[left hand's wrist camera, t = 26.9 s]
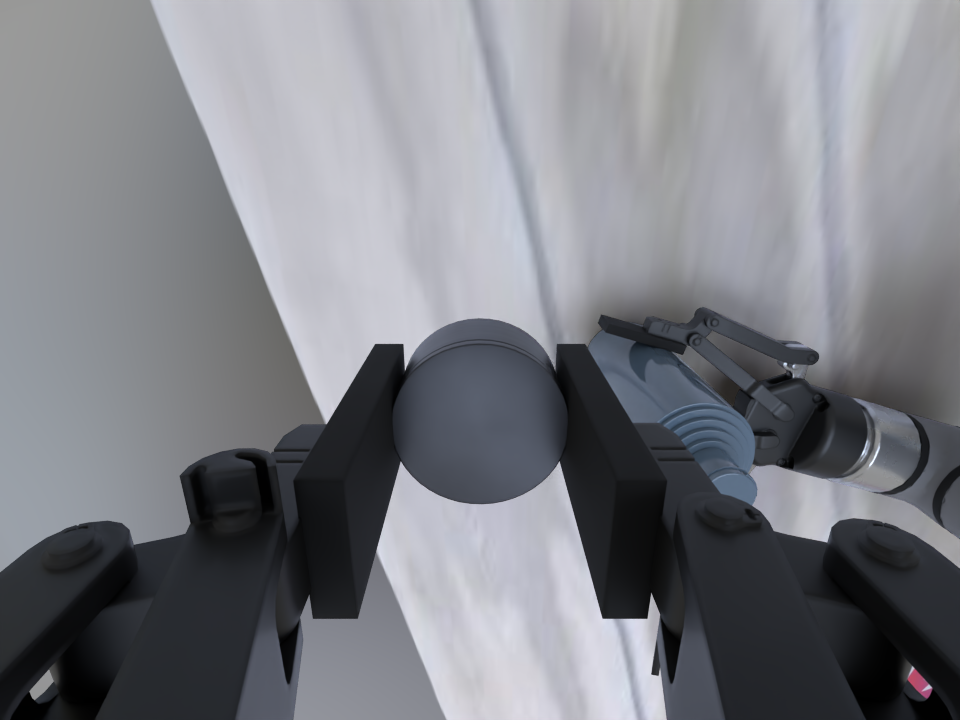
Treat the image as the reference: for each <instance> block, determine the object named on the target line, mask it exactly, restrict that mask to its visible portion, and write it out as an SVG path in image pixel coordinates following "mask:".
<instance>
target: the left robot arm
mask: <svg viewBox="0 0 960 720" xmlns="http://www.w3.org/2000/svg"><path fill="white" fill-rule="evenodd" d="M404 373H405V366H404V348H403V344H375V345H374V347H373V349H372V350H371V352H370V354H369V355H368V357H367V359H366V360H365V362H364V364H363V365H362V367H361V369H360V370H359V372H358V374H357V375H356V377H355V379H354V380H353V382H352V384H351V385H350V387H349V389H348V390H347V392H346V393H345V395H344V397H343V398H342V400H341V402H340V403H339V405H338V407H337V408H336V410H335V412H334V413H333V415H332V417H331V418H330V420H329V422H328V423H327V424H304V425H303V424H302V425H300V426H299V427H297V428H296V429H294V430H293V431H291V432H289V433H288V434H286V435H285V436H284V437H283V438H282V439H281V441H280V442H279V443H278V445H277V446H276V447H275V449H274V452H272V453H271V454H270V453H269V452H268V451H264V450H259V449H255V448H247V449H246V448H245V449H233V450H228V451H222V452H219V453H216V454H213V455H210V456H208V457H205V458H202V459H201V460H199V461H197V462H195V463H194V464H192V465H190V466H189V467H188V468H187V469H186V470H185V471H184V472H183V473H182V474H181V475H180V479H181V484H182V488H183V492H184V497H185V501H186V505H187V510H188V514H189V518H190V523H191V524H190V526H189V528H188V530H187V532H186V534H183V535H179V536H175V537H171V538H166V539H161V540H156V541H151V542H146V543H141V544H136V545H134V544H133V541H132V537H131V534H130V530H129V529H128V528H127V527H126V526H124V525H123V524H122V523H117V522H112V521H100V522H89V523H84V524H79V525H78V526H76V525H75V526H72V527H69V528H66V529H64V530H62V531H61V532H59V533H56V534H54V535H52V536H50V537H47V538H46V539H44V540H42V541H41V542H39V543H38V544H36V545H35V546H33V547H32V548H30V549H29V550H27V551H26V552H25V553H24V554H22V555H21V556H20V557H19V558H18V559H16V560H15V561H14V562H13V563H11V564H10V565H9V566H8V567H6V568H5V569H4V570H3V571H1V572H0V720H293V717H294V710H295V702H296V694H297V686H298V678H299V670H300V662H301V654H302V646H303V634H302V627H301V620H300V616H301V614H302V611H303V609H304V606H305V604H306V601H307V599H308V596H309V595H310V601H311V608H312V615H313V619H357V618H358V616H359V612H360V608H361V604H362V601H363V597H364V594H365V590H366V586H367V583H368V579H369V575H370V572H371V568H372V564H373V561H374V557H375V553H376V550H377V546H378V542H379V539H380V535H381V531H382V528H383V524H384V520H385V517H386V513H387V509H388V506H389V502H390V498H391V495H392V491H393V487H394V484H395V480H396V476H397V473H398V469H399V465H400V462H401V460H400V459H399V456H398V454H397V452H396V450H395V447H394V436H393V421H392V407H393V404H394V400H395V397H396V394H397V392H398V389H399V386H400V384H401V381H402V378H403V376H404ZM556 375H557V378H558V380H559V383H560V386H561V388H562V391H563V394H564V396H565V399H566V402H567V405H568V426H567V441H566V448H565V451H564V453H563V455H562V457H561V459H560V464H561V468H562V471H563V475H564V479H565V482H566V486H567V490H568V493H569V497H570V501H571V504H572V508H573V512H574V515H575V519H576V523H577V526H578V530H579V534H580V537H581V541H582V545H583V548H584V552H585V556H586V559H587V563H588V567H589V570H590V574H591V578H592V581H593V585H594V589H595V592H596V596H597V600H598V603H599V607H600V611H601V614H602V618H603V619H647V618H648V611H649V604H650V597H651V593H652V595H653V598H654V600H655V603H656V605H657V607H658V610H659V612H660V620H659V627H658V633H657V640H656V646H655V652H654V659H653V666H652V673H651V675H657V676H659V670H660V669H661V677H662V685H663V693H664V701H665V708H666V716H667V720H960V568H958V567H957V566H956V565H955V564H953V563H952V562H951V561H950V560H948V559H947V558H946V557H945V556H943V555H942V554H941V553H940V552H938V551H937V550H936V549H935V548H933V547H932V546H930V545H929V544H927V543H926V542H924V541H923V540H921V539H920V538H918V537H917V536H915V535H913V534H911V533H908V532H906V531H904V530H901V529H899V528H898V527H896V526H894V525H890V524H887V523H885V524H884V523H882V522H880V521H875V520H865V519H855V518H853V519H847V520H841V521H839V522H837V523H836V524H835V525H834V526H833V527H832V528H831V532H830V535H829V539H828V542H827V543H826V542H821V541H816V540H811V539H806V538H801V537H796V536H791V535H787V534H783V533H779V532H775V531H773V529H772V527H771V525H770V523H769V521H768V520H767V519H766V518H765V516H764V515H763V514H762V513H761V512H760V511H759V510H757V509H756V508H754V507H753V506H751V505H750V504H748V503H747V502H744V501H742V500H740V499H737V498H735V497H732V496H729V495H724V494H721V493H720V492H719V490H718V489H717V488H716V486H715V485H714V484H713V482H712V481H711V480H710V478H709V477H708V476H707V474H706V473H705V471H704V470H703V469H702V467H701V466H700V465H699V463H698V462H697V461H695V458H694V457H693V455H692V454H691V453H690V451H689V450H687V449H686V448H687V447H686V446H685V445H684V443H683V442H682V441H681V439H680V438H679V437H678V435H677V434H676V433H674V432H673V431H671V430H669V429H668V428H666V427H665V426H663V425H661V424H660V423H632V421H631V419H630V418H629V416H628V414H627V413H626V411H625V409H624V408H623V406H622V404H621V403H620V401H619V399H618V398H617V396H616V395H615V393H614V391H613V390H612V388H611V386H610V385H609V383H608V381H607V380H606V378H605V376H604V375H603V373H602V371H601V370H600V368H599V366H598V365H597V363H596V361H595V360H594V358H593V356H592V355H591V353H590V351H589V350H588V348H587V346H586V345H585V344H557V354H556ZM912 666H913V667H914V668H915V670H916V671H917V672H918V673H919V674H920V675H921V676H922V677H923V678H924V679H925V681H926V682H927V683H928V684H929V685H930V686H931V687H932V688H933V689H932V691H931V693H930V696H929V697H928V698H925V697H924V696H923V695H922V694H921V693H919V692H918V691H917V690H916V689H915V688H914V686H913V685H912V684H911V683H910V682H909V681H908V676H909V674H910V671H911V669H912ZM48 670H50V673H51V675H52V678H53V680H54V682H53V683H52V684H51V685H50V687H49V688H48V689H47V690H46V691H45V692H44V693H43V694H42V695H41V696H39V697H38V698H37V699H36V700H34V699H32V697H31V695H30V692H29V691H30V690H31V688H32V687H33V686H34V685H35V684H36V683H37V682H38V681H39V680H40V678H41V677H42V676H43V675H44V674H45V673H46V672H47V671H48Z"/></svg>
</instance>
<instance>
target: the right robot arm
mask: <svg viewBox="0 0 960 720" xmlns="http://www.w3.org/2000/svg"><path fill="white" fill-rule="evenodd" d="M598 324H599V325H600V326H601V328H602V329H603V330H604V331H605V333H608V334H612V335H615V336H619V337H622V338H626V339H629V340H633V341H636V342H640V343H643V344H647V345H650V346H654V347H657V348H661V349H665V350H668V351H671V352H675V353H678V354H682V355H683V353H684V351H685V349H686V347H687V346H686V345H688V346H690V347H692V348H693V349H694V350H695V351H697V352H698V353H699V354H700V355H702V356H703V357H704V358H705V359H706V360H708V361H709V362H710V363H711V364H713V365H714V366H715V367H716V368H717V369H719V370H720V371H721V372H722V373H724V374H725V375H726V376H727V377H729V378H730V379H731V380H732V381H733V382H735V383H736V384H737V385H738V386H740V387H741V388H742V389H743V390H739V392H738V394H737V396H736V398H735V403H734V406H733V408H734V409H736V410H737V411H738V412H739V413H740V414H741V415H742V416H743V417H744V418H745V419H746V420H747V422H748V423H749V425H750V427H751V429H752V431H753V434H754V439H755V454H754V460H753V463H752V466H751V469H750V471H749V473H748V474H750V472H751V471H752V470H753V469H754V468H755V466H766V465H776V466H779V467H782V468H785V469H788V470H792V471H795V472H799V473H803V474H807V475H810V476H814V477H818V478H822V479H827V480H829V481H832V482H836V483H840V484H844V485H848V486H851V487H855V488H859V489H863V490H867V491H870V492H874V493H879V494H882V495H886V496H889V497H893V498H896V499H899V500H903V501H906V502H908V503H910V504H912V505H914V506H915V507H917V508H918V509H920V510H921V511H922V512H923V513H925V514H926V515H927V516H929V517H930V518H931V519H933V520H934V521H935V522H936V523H938V524H939V525H940V526H942V527H943V528H945V529H947V530H948V531H949V532H950V533H952V534H954V535H955V536H956V537H958V538H959V539H960V427H958V426H952V425H948V424H945V423H941V422H938V421H934V420H930V419H927V418H923V417H920V416H916V415H912V414H909V413H905V412H902V411H898V410H895V409H891V408H888V407H885V406H881V405H878V404H875V403H871V402H868V401H865V400H861V399H858V398H852V397H849V396H847V395H844V394H841V393H837V392H834V391H830V390H827V389H824V388H820V387H817V386H813V385H810V384H809V383H808V382H807V381H806V380H805V379H804V377H805V374H806V371H807V368H808V365H813V364H815V363H816V362H817V361H818V359H819V354H818V353H817V352H816V351H814V350H812V349H810V348H808V347H806V346H805V345H803V344H801V343H799V342H795V341H780V340H775V339H772V338H770V337H768V336H766V335H764V334H762V333H759V332H757V331H755V330H753V329H751V328H748V327H746V326H744V325H742V324H740V323H738V322H735V321H733V320H731V319H729V318H727V317H725V316H722V315H720V314H718V313H716V312H714V311H711V310H709V309H707V308H704V307H702V308H699V309H697V310H696V312H695V317H694V318H693V319H692V320H691V321H690V322H689V323H687V324H685V323H681V324H677V323H674V322H670V321H667V320H664V319H660V318H657V317H646V319H645V322H644V324H643V327H642V326H639V325H635V324H632V323H628V322H625V321H622V320H618V319H615V318H611V317H608V316H604V315H601V317H600V319H599V322H598ZM712 330H713V331H715V332H717V333H719V334H722V335H724V336H726V337H728V338H730V339H733V340H735V341H737V342H739V343H741V344H744V345H746V346H748V347H750V348H752V349H755V350H757V351H759V352H761V353H763V354H766V355H768V356H770V357H772V358H774V359H777V362H778V364H779V365H780V366H781V367H783V368H784V369H786V371H787V373H785V374H782V375H779V376H775V377H772V378H769V379H766V380H763V381H759V382H758V381H757V380H755V379H754V378H753V377H752V376H751V375H749V374H748V373H747V372H746V371H745V370H743V369H742V368H741V367H740V366H739V365H737V364H736V363H735V362H734V361H732V360H731V359H730V358H729V357H728V356H726V355H725V354H724V353H723V352H722V351H720V350H719V349H718V348H717V347H716V346H714V345H713V344H712V343H711V342H710V341H708V340H707V339H706V337H707V336H708V334H709V333H710V332H711V331H712Z"/></svg>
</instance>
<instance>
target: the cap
mask: <svg viewBox="0 0 960 720" xmlns="http://www.w3.org/2000/svg"><path fill="white" fill-rule="evenodd" d="M392 421H393V436H394V447H395V450H396V452H397V454H398V456H399V459H400V460H401V462H402V463H403V465H404V467H405V468H406V469H407V471H408V472H409V473H410V474H411V475H412V476H413V477H414V478H415V479H416V480H417V481H418V482H419V483H420V484H422V485H423V486H424V487H426V488H427V489H429V490H430V491H432V492H434V493H436V494H438V495H440V496H442V497H445V498H447V499H450V500H454V501H458V502H463V503H469V504H491V503H497V502H503V501H506V500H510V499H513V498H516V497H518V496H520V495H523V494H525V493H526V492H528V491H530V490H532V489H533V488H535V487H536V486H537V485H539V484H540V483H541V482H542V481H543V480H545V479H546V478H547V477H548V476H549V475H550V473H551V472H552V471H553V470H554V468H555V467H556V466H557V464H558V462H559V461H560V459H561V457H562V455H563V453H564V451H565V448H566V441H567V426H568V405H567V402H566V399H565V396H564V394H563V391H562V388H561V386H560V383H559V380H558V378H557V375H556V372H555V370H554V367H553V364H552V362H551V360H550V358H549V356H548V355H547V353H546V352H545V350H544V349H543V347H542V346H541V345H540V344H539V343H538V342H537V341H536V340H535V339H534V338H533V337H531V336H530V335H529V334H528V333H526V332H525V331H523V330H521V329H520V328H518V327H516V326H513V325H511V324H509V323H505V322H502V321H498V320H492V319H480V318H478V319H467V320H463V321H458V322H455V323H452V324H449V325H447V326H445V327H443V328H441V329H439V330H437V331H436V332H434V333H433V334H431V335H430V336H429V337H428V338H427V339H425V340H424V341H423V342H422V343H421V344H420V346H419V347H418V348H417V349H416V351H415V352H414V354H413V355H412V357H411V359H410V361H409V363H408V365H407V368H406V370H405V373H404V376H403V378H402V381H401V384H400V386H399V389H398V392H397V394H396V397H395V400H394V404H393V407H392Z"/></svg>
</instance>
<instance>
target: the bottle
mask: <svg viewBox="0 0 960 720" xmlns="http://www.w3.org/2000/svg"><path fill="white" fill-rule="evenodd" d="M628 323H632V324H635V325H639V326H642V327H643V325H640V324H637V323H633V322H628ZM588 350H589V351H590V353H591V355H592V356H593V358H594V360H595V361H596V363H597V365H598V366H599V368H600V370H601V371H602V373H603V375H604V376H605V378H606V380H607V381H608V383H609V385H610V386H611V388H612V390H613V391H614V393H615V395H616V396H617V398H618V399H619V401H620V403H621V404H622V406H623V408H624V409H625V411H626V413H627V414H628V416H629V418H630V419H631V421H632V423H660V424H661V425H663V426H665V427H666V428H668V429H669V430H671V431H673V432H674V433H676V434H677V435H678V437H679V438H680V439H681V441H682V442H683V443H684V445H685V446H686V447H687V448H686V449H687V450H689V451H690V453H691V454H692V455H693V457H694V458H695V461H697V462H698V463H699V465H700V466H701V467H702V469H703V470H704V471H705V473H706V474H707V476H708V477H709V478H710V480H711V481H712V482H713V484H714V485H715V486H716V488H717V489H718V490H719V492H720V493H721V494H724V495H729V496H732V497H735V498H737V499H740V500H742V501H744V502H747V503H748V504H750V505H751V506H752V505H753V503H754V501H755V498H756V496H757V486H756V483H755V481H754V480H753V478H752V477H751V476H750V475H749V474H748V473H749V471H750V469H751V466H752V463H753V460H754V454H755V439H754V434H753V431H752V429H751V427H750V425H749V423H748V422H747V420H746V419H745V418H744V417H743V416H742V415H741V414H740V413H739V412H738V411H737V410H736V409H734V408H733V407H732V406H731V405H730V404H729V403H728V402H727V401H726V400H725V399H724V398H723V397H722V396H720V395H719V394H718V393H717V392H716V391H715V390H714V389H713V388H712V387H711V386H710V385H709V384H708V383H707V382H705V381H704V380H703V379H702V378H701V377H700V376H699V375H698V374H697V373H696V372H695V371H694V370H693V369H691V368H690V367H689V366H688V365H687V364H686V363H685V362H684V361H683V360H682V359H681V358H680V357H679V356H677V355H676V354H675V353H674V352H671V351H668V350H665V349H661V348H657V347H654V346H650V345H647V344H643V343H640V342H636V341H633V340H629V339H626V338H622V337H619V336H615V335H612V334H608V333H605V331H604V330H601V331H600V332H599V333H598V334H597V335H596V336H595V337H594V338H593V339H592V341H591V342H590V344H589V346H588Z"/></svg>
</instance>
